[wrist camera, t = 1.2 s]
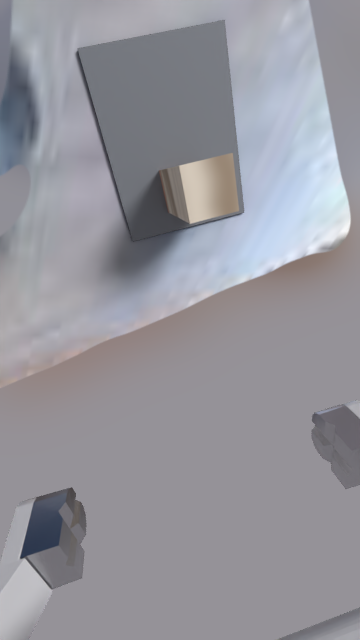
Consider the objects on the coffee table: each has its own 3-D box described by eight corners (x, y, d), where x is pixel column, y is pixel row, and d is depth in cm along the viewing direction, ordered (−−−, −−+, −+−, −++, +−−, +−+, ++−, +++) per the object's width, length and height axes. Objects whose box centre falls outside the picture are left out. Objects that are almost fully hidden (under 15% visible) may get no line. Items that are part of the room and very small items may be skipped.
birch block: (167, 212, 38) (190, 223, 28) (158, 170, 36) (179, 165, 25) (203, 203, 39) (239, 210, 28) (197, 161, 36) (232, 152, 26)
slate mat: (132, 241, 39) (132, 241, 39) (77, 50, 30) (77, 48, 30) (243, 212, 41) (244, 212, 40) (223, 21, 32) (224, 19, 31)
